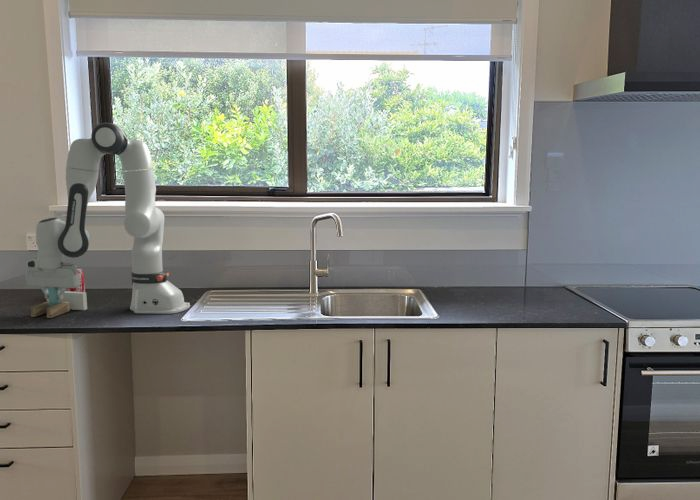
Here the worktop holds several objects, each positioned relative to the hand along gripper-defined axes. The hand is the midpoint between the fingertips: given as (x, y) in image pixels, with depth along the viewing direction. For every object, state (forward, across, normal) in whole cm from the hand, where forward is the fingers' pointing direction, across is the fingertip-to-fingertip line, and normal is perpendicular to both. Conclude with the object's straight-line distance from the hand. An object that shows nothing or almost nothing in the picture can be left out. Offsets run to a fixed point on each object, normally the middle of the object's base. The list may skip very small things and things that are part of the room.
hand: (54, 298), depth 228 cm
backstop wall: (+6, 0, -7) cm, 9 cm away
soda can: (+6, +8, -23) cm, 25 cm away
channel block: (+6, 0, +3) cm, 6 cm away
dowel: (+5, 0, 0) cm, 5 cm away
